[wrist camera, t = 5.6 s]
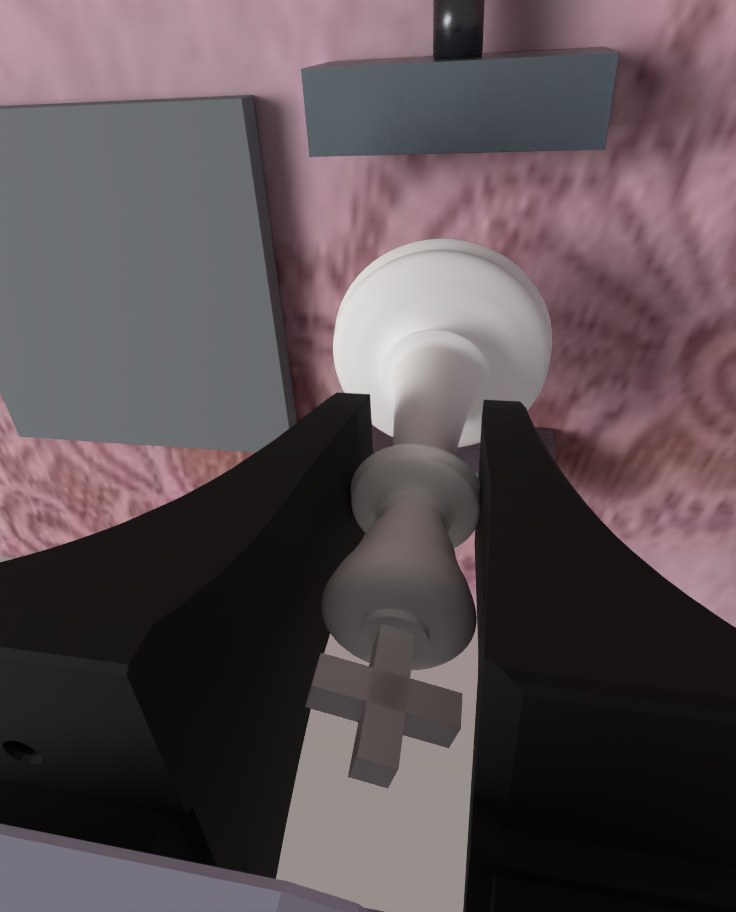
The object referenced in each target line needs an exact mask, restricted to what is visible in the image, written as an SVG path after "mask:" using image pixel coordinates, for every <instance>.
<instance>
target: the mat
mask: <svg viewBox="0 0 736 912" xmlns="http://www.w3.org/2000/svg"><path fill="white" fill-rule="evenodd" d="M0 393H1V395H2V397H3V400H4V402H5V404H6V407H7V409H8V411H9V413H10V416H11V418H12V420H13V423H14V425H15V427H16V430H17V432H18V434H19V437H34V438H49V439H64V440H79V441H95V442H110V443H125V444H140V445H155V446H170V447H185V448H201V449H216V450H231V451H246V452H257V451H259V450H260V449H262V448H263V447H265V446H266V445H268V444H269V443H271V442H272V441H273V440H275V439H276V438H277V437H279V436H280V435H281V434H283V433H284V432H285V431H287V430H288V429H289V428H291V427H292V426H293V425H295V424H296V423H297V417H296V409H295V402H294V395H293V387H292V380H291V373H290V365H289V358H288V350H287V343H286V336H285V328H284V321H283V314H282V306H281V299H280V292H279V284H278V277H277V269H276V262H275V255H274V247H273V240H272V233H271V225H270V218H269V210H268V203H267V196H266V188H265V181H264V174H263V166H262V159H261V151H260V144H259V137H258V129H257V122H256V115H255V107H254V100H253V95H243V96H220V97H198V98H175V99H153V100H130V101H108V102H86V103H63V104H41V105H18V106H0Z"/></svg>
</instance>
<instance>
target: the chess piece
mask: <svg viewBox="0 0 736 912" xmlns="http://www.w3.org/2000/svg"><path fill="white" fill-rule="evenodd" d="M551 352H552V327H551V321H550V317H549V313H548V310H547V307H546V304H545V302H544V300H543V298H542V296H541V294H540V292H539V290H538V289H537V287H536V286H535V284H534V283H533V282H532V280H531V279H530V278H529V277H528V276H527V275H526V273H525V272H524V271H523V270H522V269H520V268H519V267H518V266H517V265H516V264H515V263H513V262H512V261H511V260H509V259H508V258H506V257H505V256H503V255H501V254H500V253H498V252H496V251H494V250H492V249H490V248H487V247H485V246H482V245H479V244H476V243H472V242H468V241H463V240H456V239H429V240H422V241H417V242H413V243H409V244H406V245H403V246H400V247H398V248H396V249H393V250H391V251H389V252H387V253H386V254H384V255H382V256H381V257H379V258H378V259H376V260H375V261H374V262H372V263H371V264H370V265H369V266H367V267H366V268H365V269H364V270H363V271H362V272H361V273H360V274H359V275H358V277H357V278H356V279H355V280H354V282H353V283H352V284H351V286H350V287H349V289H348V291H347V292H346V294H345V296H344V298H343V301H342V303H341V305H340V308H339V311H338V315H337V319H336V325H335V333H334V340H333V356H334V364H335V369H336V373H337V376H338V379H339V382H340V384H341V386H342V388H343V390H344V392H345V393H356V394H370V402H371V420H372V425H373V426H375V427H376V428H378V429H379V430H381V431H382V432H384V433H386V434H387V435H389V436H391V437H393V446H390V447H387V448H384V449H382V450H379V451H377V452H376V453H374V454H372V455H371V456H369V457H368V458H367V459H366V460H364V461H363V462H362V464H361V465H360V466H359V467H358V469H357V470H356V472H355V474H354V476H353V478H352V482H351V503H352V510H353V514H354V516H355V519H356V521H357V523H358V524H359V526H360V527H361V528H362V530H363V531H364V532H365V535H364V537H363V539H362V540H361V542H360V543H359V545H358V546H357V547H356V548H355V549H354V551H353V552H352V553H350V554H349V555H348V556H347V557H346V558H345V559H344V560H343V561H342V563H341V564H340V565H339V567H338V568H337V569H336V571H335V572H334V573H333V575H332V576H331V578H330V579H329V581H328V583H327V585H326V587H325V589H324V592H323V596H322V602H321V610H322V616H323V619H324V622H325V624H326V627H327V628H328V630H329V632H330V633H331V635H332V636H333V637H334V638H335V640H336V641H337V642H338V643H339V644H340V645H341V646H342V647H344V648H345V649H346V650H347V651H349V652H350V653H352V654H353V655H355V656H356V657H358V658H360V659H362V660H364V661H367V662H369V663H370V664H369V666H365V665H362V664H358V663H355V662H351V661H348V660H344V659H341V658H338V657H334V656H331V655H327V654H324V653H320V657H319V660H318V663H317V666H316V669H315V673H314V676H313V680H312V684H311V687H310V691H309V695H308V698H307V702H306V706H305V707H307V708H311V709H314V710H318V711H321V712H325V713H328V714H332V715H336V716H339V717H343V718H346V719H349V720H353V721H356V722H358V728H357V733H356V738H355V743H354V749H353V754H352V759H351V764H350V769H349V775H348V777H351V778H354V779H358V780H361V781H364V782H368V783H371V784H375V785H378V786H382V787H385V788H388V787H389V785H390V783H391V781H392V780H393V778H394V776H395V774H396V772H397V770H398V768H399V760H400V752H401V745H402V737H403V735H405V736H409V737H412V738H416V739H419V740H422V741H426V742H429V743H433V744H437V745H440V746H443V747H447V748H449V747H450V745H451V743H452V742H453V740H454V739H455V737H456V735H457V734H458V732H459V731H460V729H461V713H462V712H461V711H462V693H459V692H455V691H452V690H449V689H445V688H442V687H438V686H434V685H431V684H428V683H424V682H421V681H417V680H414V679H411V678H410V674H411V670H421V669H428V668H432V667H435V666H438V665H441V664H444V663H446V662H448V661H450V660H452V659H453V658H455V657H456V656H458V655H459V654H460V653H461V652H462V651H463V650H464V649H465V648H466V647H467V646H468V645H469V643H470V641H471V640H472V637H473V635H474V632H475V628H476V610H475V605H474V601H473V598H472V595H471V592H470V589H469V586H468V583H467V581H466V579H465V577H464V575H463V573H462V572H461V570H460V567H459V565H458V562H457V560H456V556H455V551H454V548H455V547H457V546H459V545H460V544H462V543H463V542H464V541H466V540H467V539H468V538H469V537H470V535H471V534H472V533H473V531H474V530H475V528H476V526H477V524H478V520H479V515H480V481H479V479H478V478H477V476H476V474H475V473H474V472H473V471H472V469H471V468H470V467H469V466H468V465H467V464H466V463H465V462H463V461H462V460H461V459H459V458H458V457H456V456H455V454H456V451H457V448H458V447H464V446H469V445H473V444H477V443H480V439H481V421H482V410H483V402H484V400H502V401H520V402H521V403H522V404H523V405H524V406H525V407H526V409H527V411H528V410H529V409H530V407H531V406H532V405H533V403H534V402H535V400H536V399H537V397H538V395H539V394H540V392H541V390H542V387H543V385H544V383H545V380H546V377H547V373H548V369H549V363H550V358H551Z"/></svg>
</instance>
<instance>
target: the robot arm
mask: <svg viewBox="0 0 736 912" xmlns="http://www.w3.org/2000/svg"><path fill="white" fill-rule="evenodd" d="M372 454H373V437H372V420H371V402H370V394H356V393H336V394H334V395H333V396H331V397H330V398H328V399H327V400H326V401H324V402H323V403H322V404H320V405H319V406H318V407H317V408H315V409H314V410H313V411H311V412H310V413H309V414H308V415H306V416H305V417H304V418H302V419H301V420H300V421H299V422H297V423H296V424H295V425H293V426H292V427H291V428H289V429H288V430H287V431H285V432H284V433H283V434H281V435H280V436H279V437H277V438H276V439H275V440H273V441H272V442H271V443H269V444H268V445H266V446H265V447H263V448H262V449H260V450H259V451H257V452H256V453H254V454H253V455H251V456H250V457H248V458H247V459H245V460H244V461H242V462H241V463H239V464H238V465H237V466H235V467H234V468H232V469H230V470H229V471H227V472H225V473H224V474H222V475H220V476H219V477H217V478H215V479H214V480H212V481H210V482H208V483H206V484H205V485H203V486H201V487H199V488H197V489H195V490H193V491H192V492H190V493H188V494H186V495H184V496H182V497H180V498H178V499H176V500H174V501H172V502H169V503H167V504H165V505H163V506H160V507H158V508H156V509H154V510H151V511H149V512H147V513H145V514H142V515H140V516H138V517H136V518H133V519H131V520H129V521H126V522H124V523H122V524H119V525H117V526H114V527H111V528H109V529H106V530H103V531H100V532H98V533H95V534H92V535H90V536H87V537H84V538H81V539H78V540H75V541H72V542H69V543H66V544H63V545H60V546H57V547H54V548H50V549H47V550H44V551H41V552H37V553H33V554H30V555H26V556H22V557H19V558H15V559H11V560H8V561H4V562H0V912H383V911H378V910H373V909H368V908H364V907H362V906H360V905H359V904H357V903H355V902H351V901H348V900H345V899H342V898H339V897H336V896H332V895H329V894H326V893H323V892H320V891H317V890H314V889H310V888H307V887H304V886H301V885H298V884H294V883H291V882H288V881H283V880H278V879H276V875H277V869H278V864H279V858H280V853H281V848H282V843H283V837H284V832H285V827H286V822H287V817H288V812H289V807H290V802H291V798H292V793H293V788H294V782H295V778H296V773H297V768H298V763H299V758H300V754H301V750H302V745H303V741H304V736H305V732H306V727H307V723H308V718H309V714H310V709H311V708H307V707H305V706H306V702H307V698H308V695H309V691H310V687H311V684H312V680H313V676H314V673H315V669H316V666H317V663H318V660H319V657H320V653H324V652H325V648H326V645H327V642H328V638H329V635H330V632H329V630H328V628H327V627H326V624H325V622H324V619H323V616H322V610H321V602H322V596H323V592H324V589H325V587H326V585H327V583H328V581H329V579H330V578H331V576H332V575H333V573H334V572H335V571H336V569H337V568H338V567H339V565H340V564H341V563H342V561H343V560H344V559H345V558H346V557H347V556H348V555H349V554H350V553H352V552H353V551H354V549H355V548H356V547H357V546H358V545H359V543H360V542H361V540H362V539H363V537H364V535H365V532H364V531H363V530H362V528H361V527H360V526H359V524H358V523H357V521H356V519H355V516H354V514H353V510H352V503H351V482H352V478H353V476H354V474H355V472H356V470H357V469H358V467H359V466H360V465H361V464H362V462H363V461H364V460H366V459H367V458H368V457H369V456H371V455H372ZM478 479H479V481H480V515H479V520H478V524H477V526H476V528H475V567H476V595H477V623H478V648H479V649H478V686H477V702H476V718H475V734H474V750H473V767H472V782H471V798H470V815H469V830H468V845H467V862H466V877H465V878H466V879H465V893H464V909H463V912H736V628H735V627H734V626H732V625H730V624H729V623H727V622H726V621H724V620H723V619H721V618H720V617H718V616H717V615H715V614H714V613H712V612H711V611H710V610H708V609H707V608H705V607H704V606H702V605H701V604H700V603H698V602H697V601H695V600H694V599H692V598H691V597H689V596H688V595H687V594H685V593H684V592H682V591H681V590H680V589H679V588H677V587H676V586H675V585H673V584H672V583H671V582H669V581H668V580H667V579H665V578H664V577H663V576H661V575H660V574H659V573H658V572H657V571H655V570H654V569H653V568H652V567H651V566H649V565H648V564H647V563H646V562H645V561H644V560H642V559H641V558H640V557H639V556H638V555H636V554H635V553H634V552H633V551H632V550H630V549H629V548H628V547H627V546H626V545H625V544H624V543H623V542H622V541H621V540H620V539H619V538H617V537H616V536H615V535H614V533H613V532H612V531H611V530H610V529H609V528H608V527H607V526H606V525H605V524H604V523H603V522H602V521H601V520H600V519H599V518H598V517H597V515H596V514H595V513H594V512H593V511H592V510H591V509H590V507H589V506H588V505H587V504H586V503H585V502H584V500H583V499H582V498H581V496H580V495H579V494H578V493H577V491H576V490H575V489H574V488H573V486H572V485H571V484H570V482H569V481H568V480H567V478H566V477H565V475H564V474H563V473H562V471H561V470H560V468H559V467H558V465H557V464H556V462H555V461H554V459H553V458H552V456H551V455H550V453H549V452H548V450H547V448H546V447H545V445H544V443H543V442H542V440H541V438H540V436H539V435H538V433H537V431H536V429H535V427H534V425H533V423H532V421H531V419H530V417H529V414H528V412H527V409H526V407H525V406H524V405H523V404H522V403H521V402H520V401H502V400H484V402H483V410H482V421H481V439H480V457H479V474H478Z"/></svg>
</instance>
